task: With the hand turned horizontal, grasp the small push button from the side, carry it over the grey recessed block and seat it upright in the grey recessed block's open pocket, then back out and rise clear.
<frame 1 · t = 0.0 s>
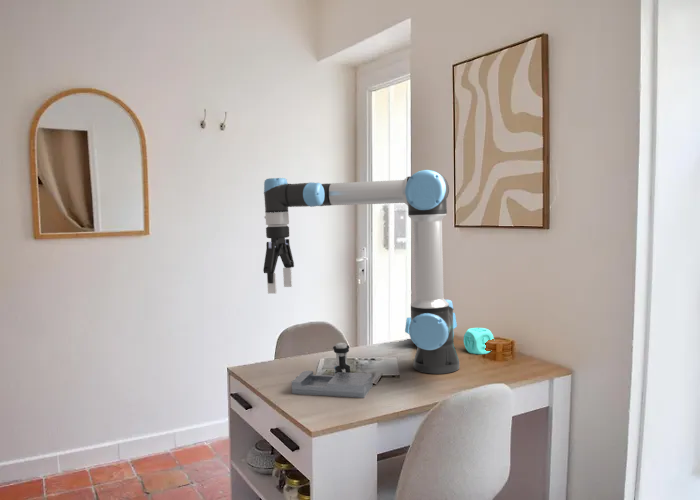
hand: (280, 290, 184), 28 cm above the table, tool pointing down, fingers open, 13 cm apart
decorative dice: (478, 352, 204), on the table
push button: (340, 374, 183), on the table
grey recessed block: (332, 389, 168), on the table
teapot: (433, 347, 213), on the table
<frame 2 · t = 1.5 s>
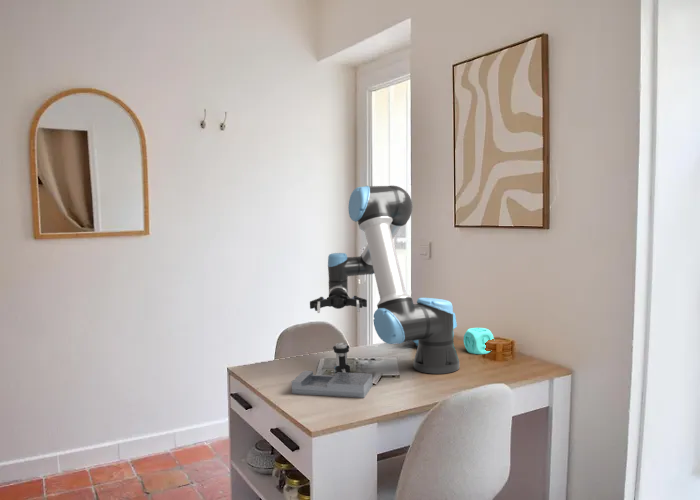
hand: (338, 308, 190), 20 cm above the table, tool horizontal, fingers open, 13 cm apart
nothing on the table moved.
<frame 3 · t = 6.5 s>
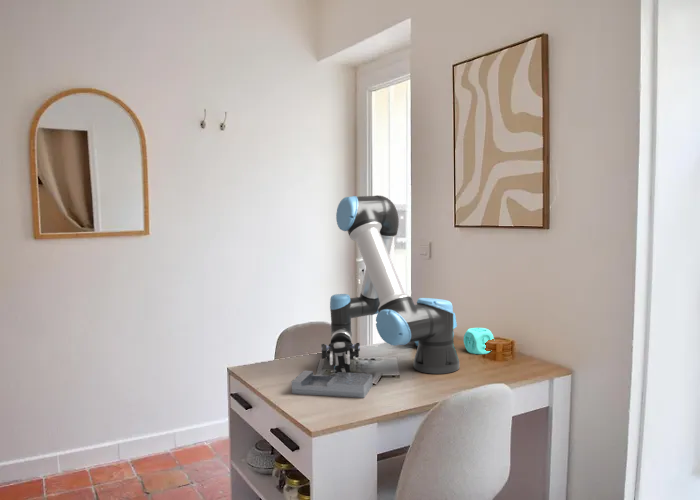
hand: (339, 360, 177), 6 cm above the table, tool horizontal, fingers closed on push button, 5 cm apart
push button: (340, 374, 183), on the table, touching gripper
everything else where it was.
when the fingers open (8 cm above the table, at t = 11.4 s): push button stays where it is, resting on grey recessed block.
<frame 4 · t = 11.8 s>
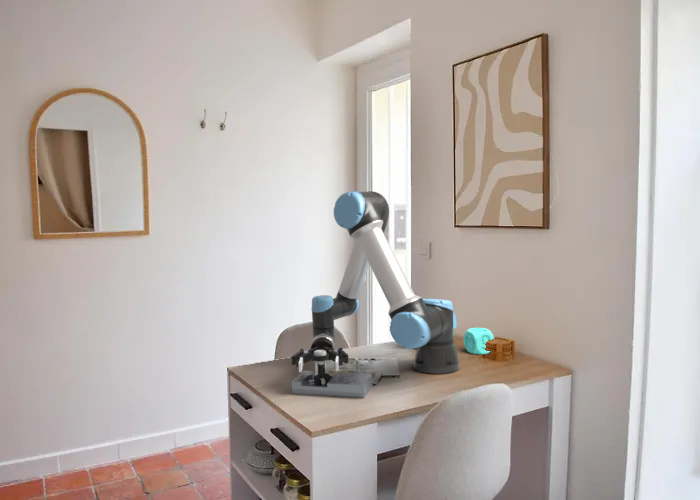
hand: (318, 367, 164), 8 cm above the table, tool horizontal, fingers open, 10 cm apart
push button: (319, 384, 169), point 1 cm above the table, touching grey recessed block
everything else where it was.
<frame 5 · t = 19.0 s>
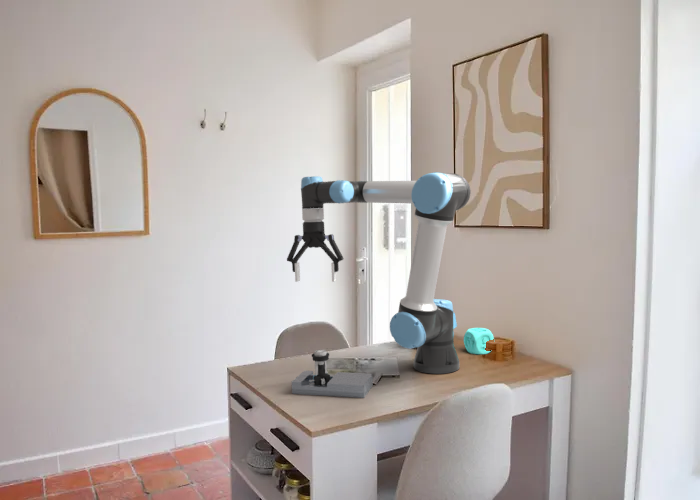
hand: (315, 281, 197), 29 cm above the table, tool pointing down, fingers open, 13 cm apart
nothing on the table moved.
at the end: push button 0.2 cm from the target spot on the grey recessed block, point 1.3 cm above the grey recessed block's base; push button tilted 0°; the gripper is holding nothing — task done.
